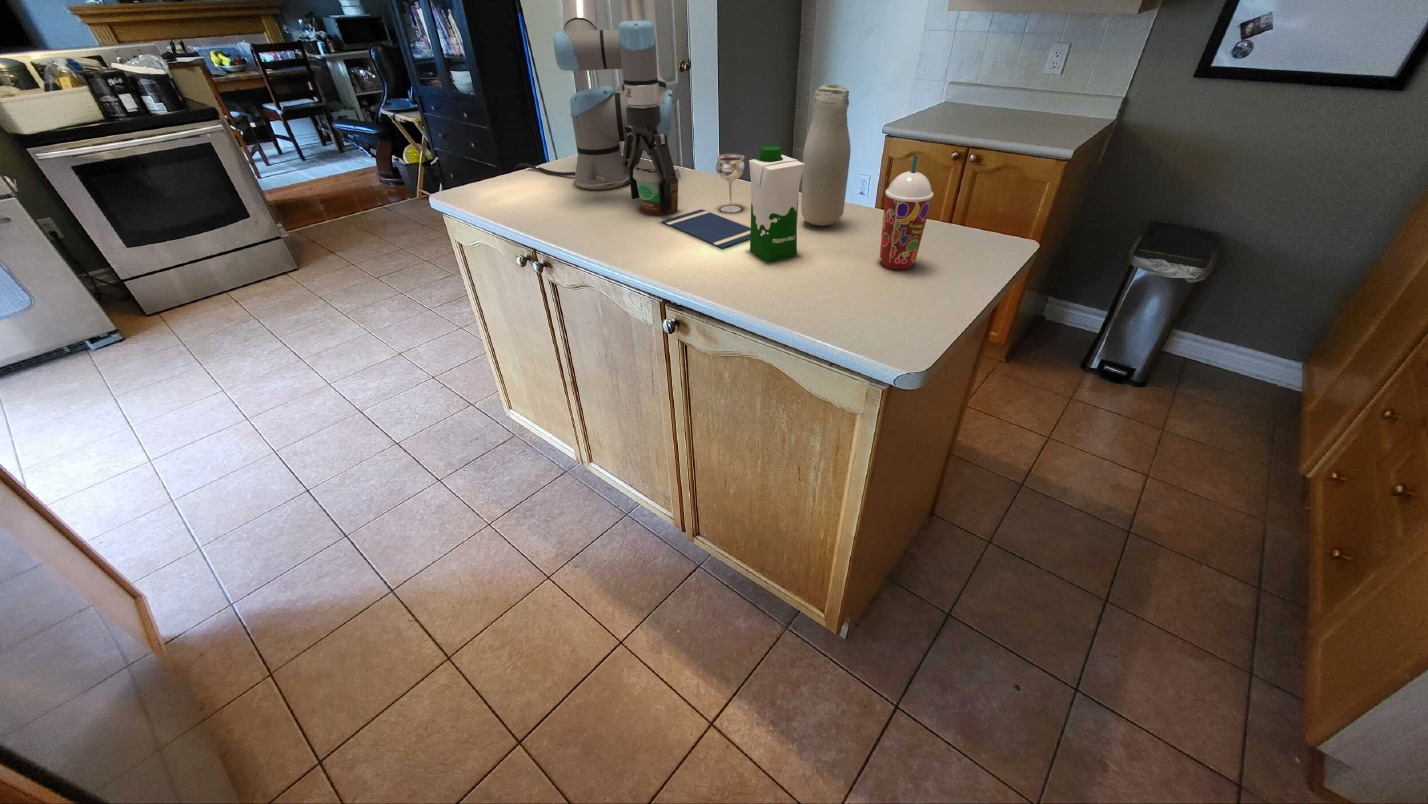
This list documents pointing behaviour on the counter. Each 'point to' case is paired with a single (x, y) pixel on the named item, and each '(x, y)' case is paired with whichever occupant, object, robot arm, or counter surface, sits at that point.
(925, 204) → the smoothie
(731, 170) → the wineglass
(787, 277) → the counter surface
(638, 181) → the food container
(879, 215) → the counter surface
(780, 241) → the milk carton
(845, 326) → the counter surface
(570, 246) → the counter surface
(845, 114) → the glass bottle
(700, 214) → the cloth
